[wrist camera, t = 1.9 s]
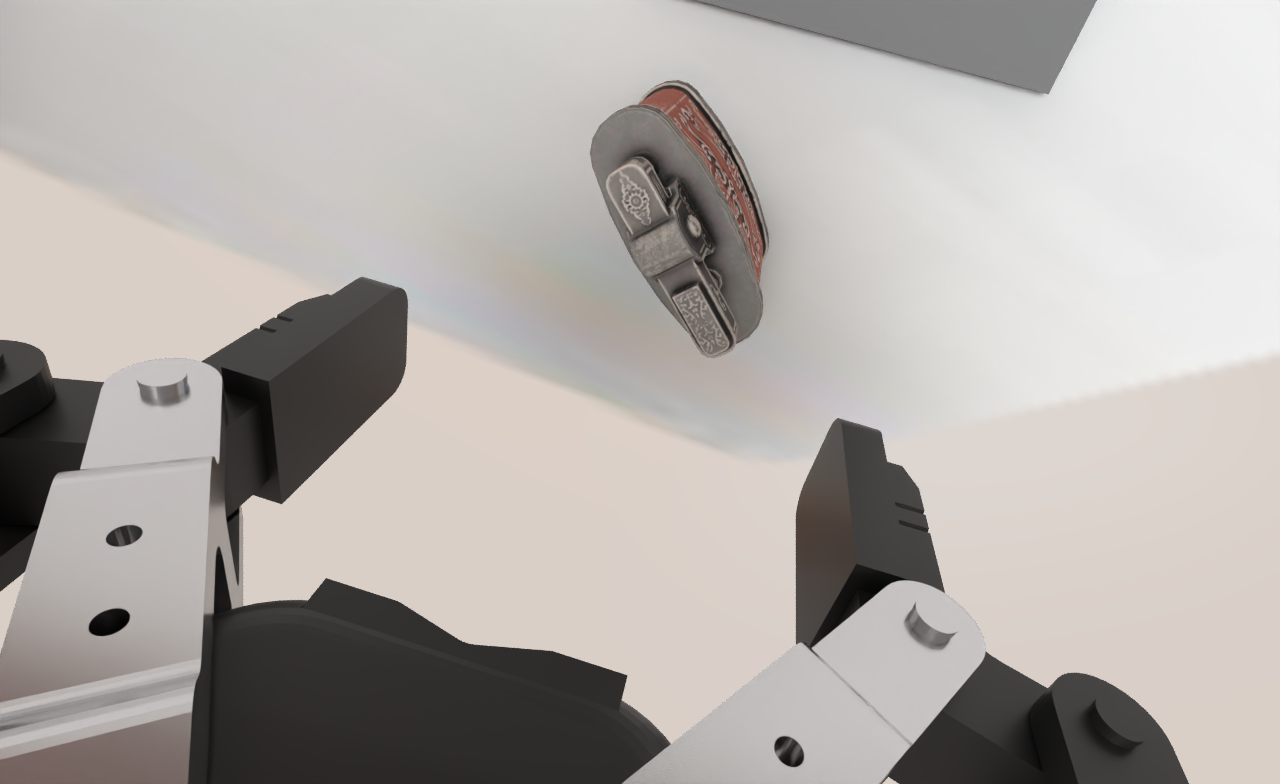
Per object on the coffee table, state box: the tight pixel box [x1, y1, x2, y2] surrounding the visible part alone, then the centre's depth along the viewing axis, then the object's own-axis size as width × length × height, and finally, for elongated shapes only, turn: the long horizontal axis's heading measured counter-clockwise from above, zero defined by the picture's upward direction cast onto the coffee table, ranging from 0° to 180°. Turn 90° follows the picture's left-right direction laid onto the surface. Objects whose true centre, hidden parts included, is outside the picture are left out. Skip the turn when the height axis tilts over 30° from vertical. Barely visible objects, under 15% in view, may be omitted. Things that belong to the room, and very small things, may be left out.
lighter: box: [590, 80, 769, 358], centre depth 23 cm, size 8×3×10 cm, turn 30°
